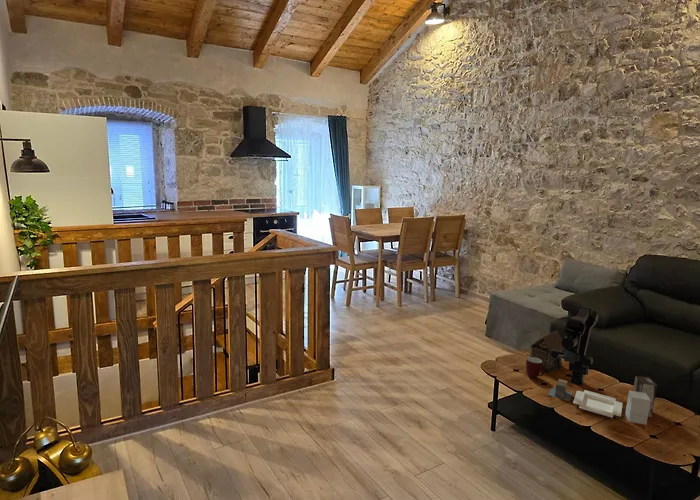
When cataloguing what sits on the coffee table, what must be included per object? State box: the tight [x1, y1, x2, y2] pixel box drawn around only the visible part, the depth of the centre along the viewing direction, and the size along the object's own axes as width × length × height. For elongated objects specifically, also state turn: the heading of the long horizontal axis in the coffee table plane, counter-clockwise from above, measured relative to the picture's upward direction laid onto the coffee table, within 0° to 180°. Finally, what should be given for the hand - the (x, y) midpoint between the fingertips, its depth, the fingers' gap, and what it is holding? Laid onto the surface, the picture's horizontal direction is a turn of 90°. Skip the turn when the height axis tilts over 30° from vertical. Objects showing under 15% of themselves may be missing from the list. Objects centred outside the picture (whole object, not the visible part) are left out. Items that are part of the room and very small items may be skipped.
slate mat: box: [547, 386, 573, 402], centre depth 236 cm, size 10×10×1 cm
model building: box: [529, 330, 566, 374], centre depth 269 cm, size 18×14×20 cm
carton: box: [572, 389, 624, 419], centre depth 226 cm, size 21×20×2 cm
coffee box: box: [632, 375, 658, 418], centre depth 222 cm, size 9×6×16 cm
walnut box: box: [555, 378, 568, 399], centre depth 236 cm, size 8×4×6 cm, turn 147°
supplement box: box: [624, 390, 651, 426], centre depth 215 cm, size 7×7×13 cm
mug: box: [525, 356, 545, 380], centre depth 253 cm, size 11×8×10 cm
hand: (568, 372), depth 235 cm, fingers open, 9 cm apart
